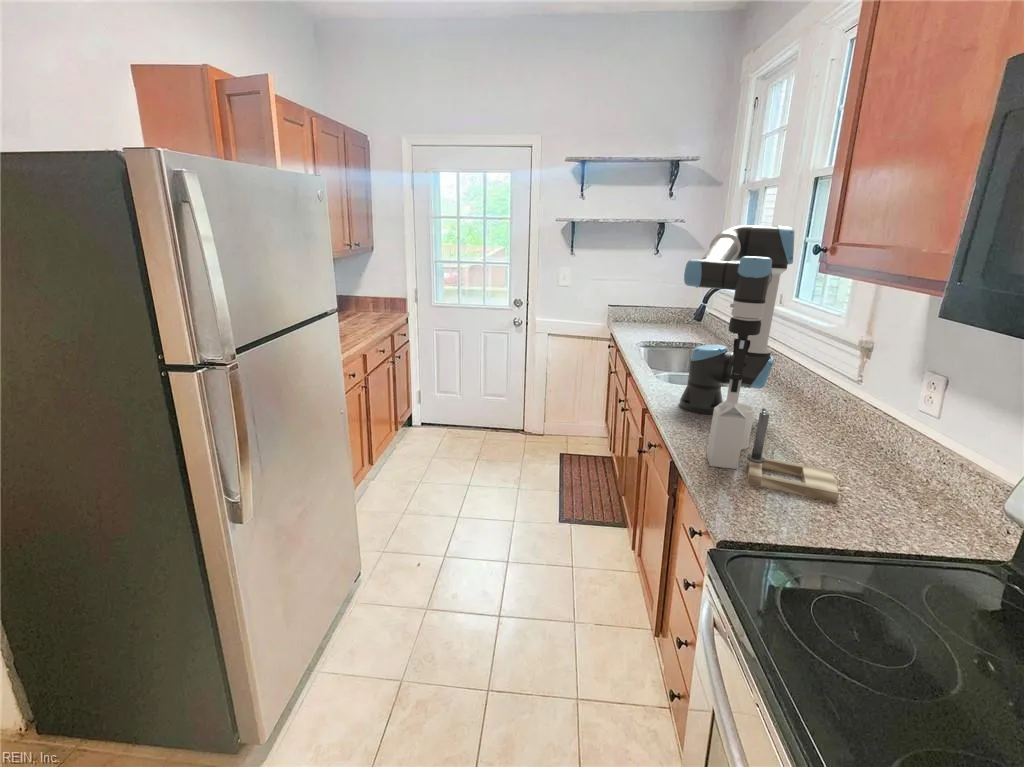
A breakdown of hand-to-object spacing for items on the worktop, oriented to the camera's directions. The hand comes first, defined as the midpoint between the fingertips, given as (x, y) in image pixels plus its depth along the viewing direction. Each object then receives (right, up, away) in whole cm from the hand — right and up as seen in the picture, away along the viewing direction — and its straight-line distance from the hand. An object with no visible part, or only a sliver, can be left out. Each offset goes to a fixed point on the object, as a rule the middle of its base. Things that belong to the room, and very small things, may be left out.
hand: (732, 396), depth 138 cm
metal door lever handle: (+8, -20, +5) cm, 22 cm away
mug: (+7, -15, +20) cm, 26 cm away
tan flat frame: (+14, -22, -3) cm, 26 cm away
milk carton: (-1, -19, +6) cm, 20 cm away
